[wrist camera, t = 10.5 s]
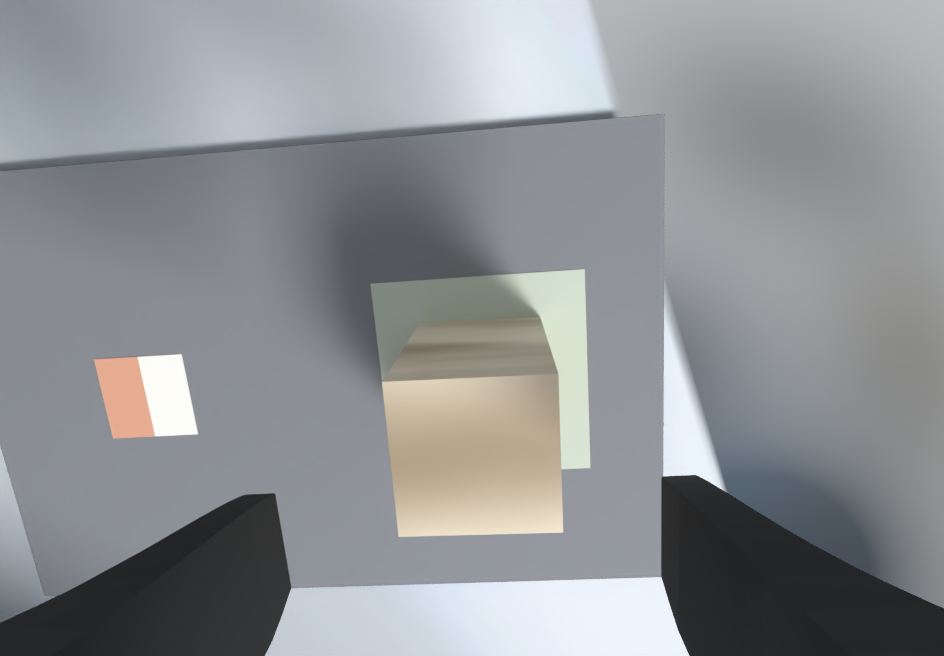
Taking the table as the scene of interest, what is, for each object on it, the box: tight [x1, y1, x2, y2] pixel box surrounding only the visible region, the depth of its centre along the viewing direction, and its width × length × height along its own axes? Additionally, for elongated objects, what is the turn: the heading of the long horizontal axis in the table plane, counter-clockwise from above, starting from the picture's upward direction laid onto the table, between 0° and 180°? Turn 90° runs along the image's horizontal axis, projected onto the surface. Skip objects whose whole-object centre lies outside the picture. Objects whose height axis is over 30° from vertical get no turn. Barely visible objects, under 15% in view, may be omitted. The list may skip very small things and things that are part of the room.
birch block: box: [382, 317, 563, 537], centre depth 16 cm, size 4×4×6 cm
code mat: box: [0, 114, 665, 595], centre depth 19 cm, size 16×24×1 cm, turn 94°
